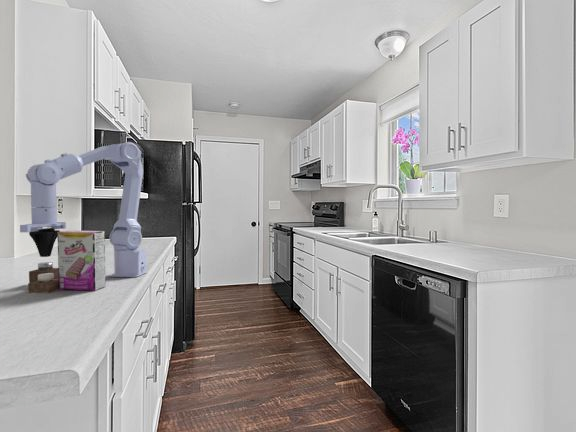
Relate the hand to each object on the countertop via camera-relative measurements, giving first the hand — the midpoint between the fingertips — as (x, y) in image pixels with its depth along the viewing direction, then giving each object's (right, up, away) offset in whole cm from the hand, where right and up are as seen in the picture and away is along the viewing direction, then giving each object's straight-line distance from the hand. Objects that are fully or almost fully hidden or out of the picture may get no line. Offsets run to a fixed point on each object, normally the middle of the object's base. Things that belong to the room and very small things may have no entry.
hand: (45, 256), depth 95 cm
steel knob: (-5, -9, +7) cm, 12 cm away
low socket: (0, -9, 0) cm, 9 cm away
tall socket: (-5, -9, +7) cm, 12 cm away
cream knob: (0, -10, 0) cm, 10 cm away
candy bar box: (+9, -10, +2) cm, 13 cm away
